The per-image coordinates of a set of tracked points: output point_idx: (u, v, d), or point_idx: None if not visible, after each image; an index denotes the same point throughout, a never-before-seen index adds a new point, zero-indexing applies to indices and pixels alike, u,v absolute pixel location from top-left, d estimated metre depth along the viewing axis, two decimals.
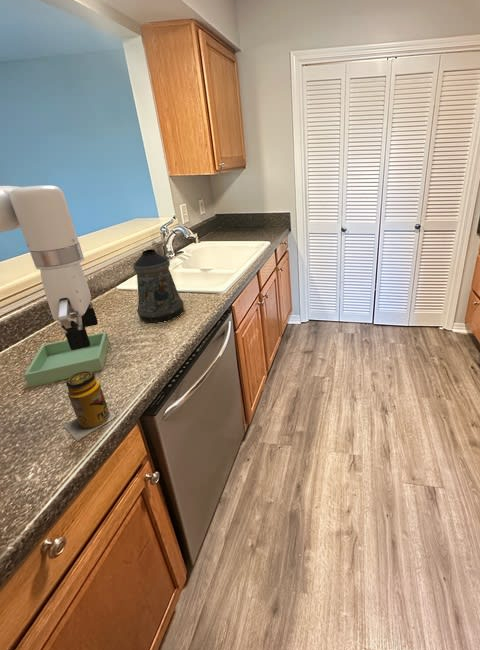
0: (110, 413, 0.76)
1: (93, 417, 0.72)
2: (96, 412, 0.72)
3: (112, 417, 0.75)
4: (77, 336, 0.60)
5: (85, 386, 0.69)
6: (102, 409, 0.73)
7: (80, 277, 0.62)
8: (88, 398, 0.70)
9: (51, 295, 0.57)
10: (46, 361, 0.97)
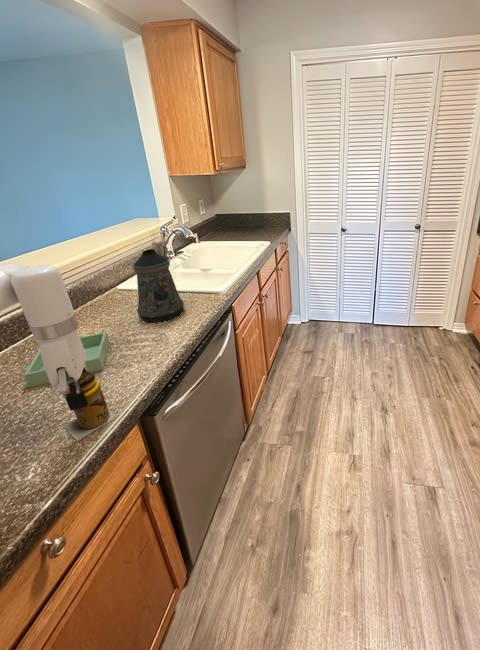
0: (110, 414, 0.76)
1: (93, 418, 0.71)
2: (96, 413, 0.72)
3: (112, 418, 0.75)
4: (76, 399, 0.67)
5: (84, 386, 0.69)
6: (102, 410, 0.73)
7: (76, 344, 0.67)
8: (88, 399, 0.70)
9: (49, 365, 0.62)
10: None
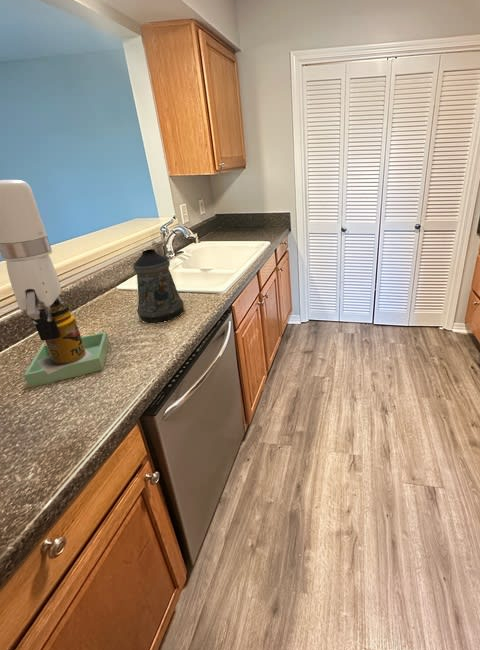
0: (86, 352, 0.73)
1: (67, 352, 0.68)
2: (70, 347, 0.68)
3: (88, 355, 0.71)
4: (47, 327, 0.63)
5: (57, 317, 0.65)
6: (77, 345, 0.69)
7: (48, 269, 0.63)
8: (61, 330, 0.66)
9: (17, 286, 0.59)
10: None
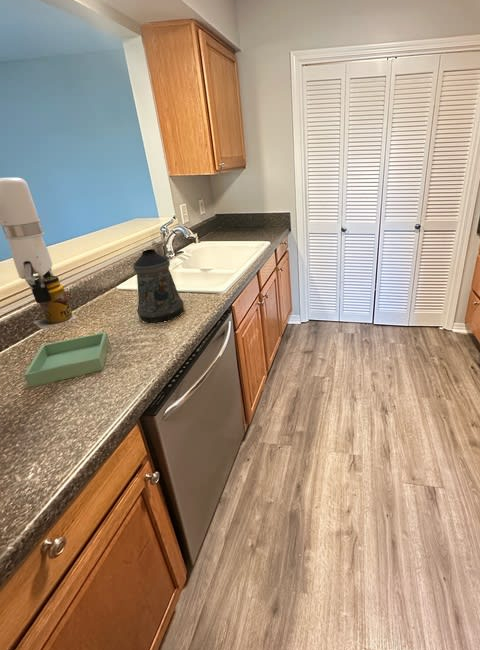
0: (73, 315, 0.91)
1: (57, 313, 0.86)
2: (60, 309, 0.86)
3: (74, 317, 0.90)
4: (40, 292, 0.82)
5: (49, 284, 0.84)
6: (65, 309, 0.88)
7: (41, 247, 0.82)
8: (52, 295, 0.84)
9: (17, 258, 0.77)
10: (46, 361, 0.97)
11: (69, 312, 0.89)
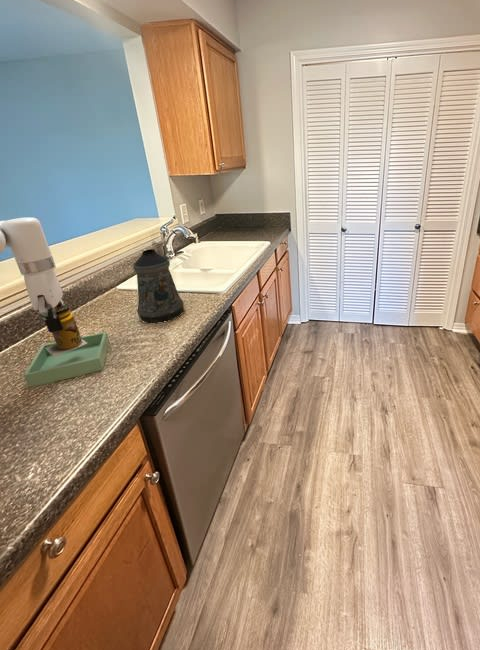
0: (82, 341, 0.97)
1: (68, 341, 0.92)
2: (70, 337, 0.92)
3: (83, 343, 0.95)
4: (53, 322, 0.87)
5: (60, 314, 0.89)
6: (75, 336, 0.93)
7: (53, 280, 0.87)
8: (63, 324, 0.90)
9: (31, 293, 0.83)
10: (46, 361, 0.97)
11: (79, 339, 0.95)
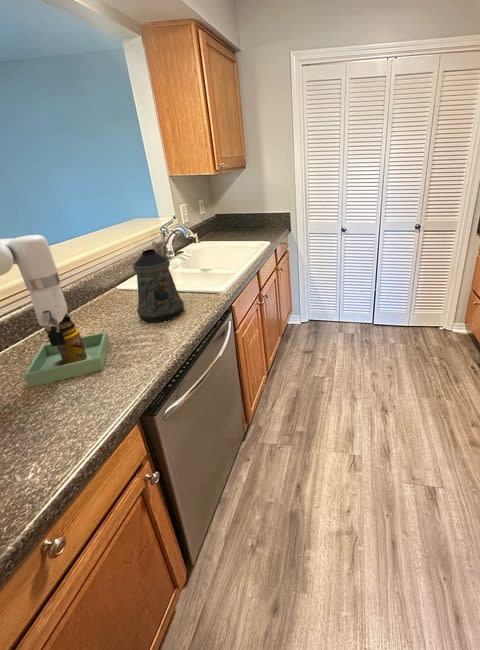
0: (87, 356, 0.99)
1: (73, 356, 0.94)
2: (76, 353, 0.94)
3: (89, 358, 0.97)
4: (56, 336, 0.87)
5: (66, 331, 0.91)
6: (81, 351, 0.95)
7: (58, 296, 0.89)
8: (69, 341, 0.92)
9: (37, 309, 0.84)
10: (46, 361, 0.97)
11: (84, 354, 0.97)
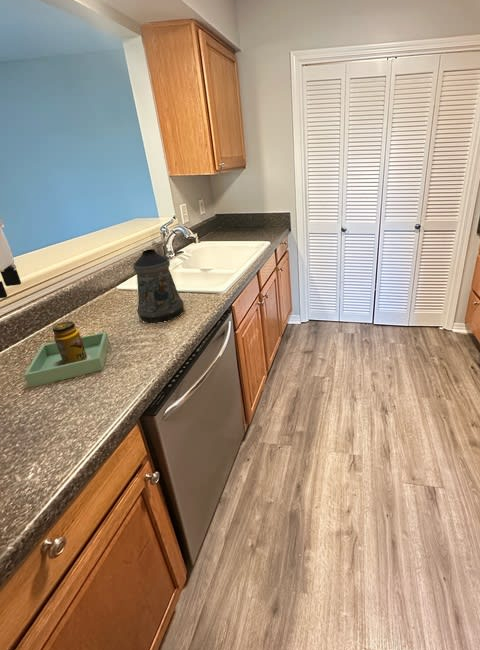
0: (87, 356, 0.99)
1: (73, 356, 0.94)
2: (76, 353, 0.94)
3: (89, 358, 0.97)
4: None
5: (66, 331, 0.91)
6: (81, 351, 0.95)
7: (0, 241, 0.76)
8: (69, 341, 0.92)
9: None
10: (46, 361, 0.97)
11: (84, 354, 0.97)
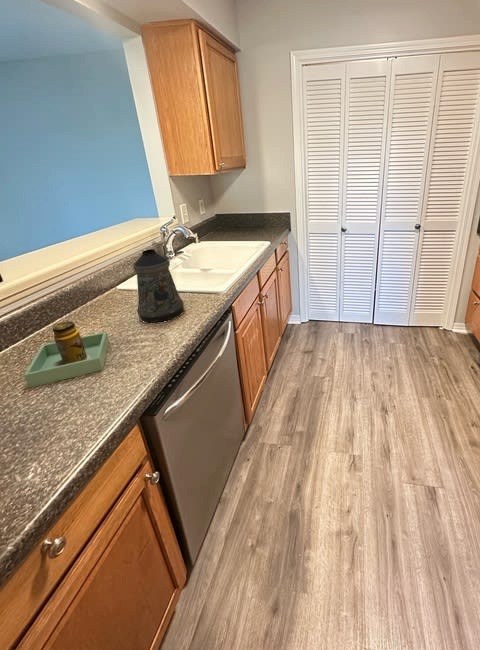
0: (87, 356, 0.99)
1: (73, 356, 0.94)
2: (76, 353, 0.94)
3: (89, 358, 0.97)
4: None
5: (66, 331, 0.91)
6: (81, 351, 0.95)
7: None
8: (69, 341, 0.92)
9: None
10: (46, 361, 0.97)
11: (84, 354, 0.97)
